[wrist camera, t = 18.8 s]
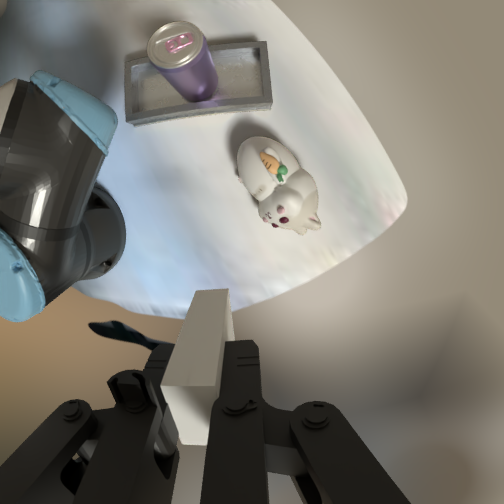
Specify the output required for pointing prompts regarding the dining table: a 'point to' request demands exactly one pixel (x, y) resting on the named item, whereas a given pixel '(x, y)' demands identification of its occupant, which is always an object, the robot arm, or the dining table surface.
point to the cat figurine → (278, 185)
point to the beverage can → (183, 59)
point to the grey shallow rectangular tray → (220, 102)
